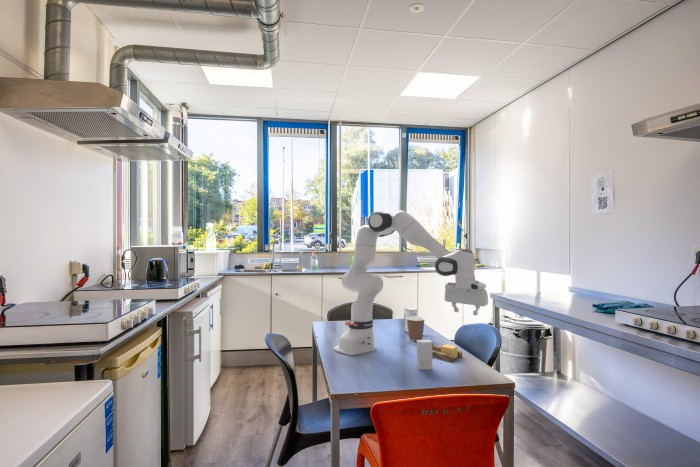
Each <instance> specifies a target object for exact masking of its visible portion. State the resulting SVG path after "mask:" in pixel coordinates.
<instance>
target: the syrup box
mask: <svg viewBox="0 0 700 467" xmlns="http://www.w3.org/2000/svg"><path fill="white" fill-rule="evenodd" d="M403 311H404V312H403V331H404V332H405V333H407V334H409V333H408V324H407V317H411V316H418V309H417V308H416V307H404V309H403Z"/></svg>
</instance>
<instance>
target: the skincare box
mask: <svg viewBox="0 0 700 467" xmlns="http://www.w3.org/2000/svg"><path fill="white" fill-rule="evenodd" d="M432 343H433V341H432V340H430V339H422V340H417V341H416V367H417V369H418V370H419V371H423V370H424V371H425V370H427V371H428V370H429V371H431V370H433V357H432Z"/></svg>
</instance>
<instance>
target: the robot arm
mask: <svg viewBox="0 0 700 467" xmlns="http://www.w3.org/2000/svg"><path fill="white" fill-rule="evenodd" d="M395 231H396V232H397V233H398V234H399V235H400V236H401V237H402V238H403V239H404V240H405V241H406V242H408V243H409V244H410V245H412V246H416V247H420V248H423V249H426V250H428V251H429V252H430V253H431V254H432V255H433V256H434V257H435V258H437V259H436V261H435V263H434V268H435V271H436V273H437V274H438V275H440V276H443V277H448V276H454V277H455V282H447V283H445V285H444V290H445V291H444V302H447V303H451V306H452V308H453V312H454V313H459V312H460V311H459V307H457V304H463V305H471V306H475V310H473V311H472V315H474V316H478V314H479V310H480V308H481V307H486V306H487V305H488V304H489V297H488V291H487V289H486V287H487V285H486V283H484V282H481V281H479V280H476V276H475V271H476V261H475V254H474V252H473V251H472V250H470V249H464V248H457V249H456V250H454V251H453V252H450V251H449V250H448V249H447V248H445V247H444V246H443V245H442V244H441V243H440V242H439V241H438V240H437V239H435V238H434V237H433V236H432V235H431V234H430V233H429V232H428V231H427V230H426V228H425V227H424V226H423V225H422V224H421V223H420V222H419V221H418V220H417V219H416V218H415V217H414V216H412V215H411V214H410V213H408V212H406V211H405V210H398V211H396V212H395V213H394V214H393V215H391V213H388V212H383V211H374V212H372V213H371V214H370V215H369V217H368V219H367V224H365V225H362V226H360V227H359V229H358V231H357V234H356V238H355V245H354V254H353V259H352V263H351V265H350V267H349V268H348V270H347V271H346V272H345V273H344V274H343V275H342V278H341V284H342V287H343V288H344V289H345V290H347V291H349V292H352V293H358V294H357V298H356V300H355V301H353V302H352V303H351V308H350V309H351V310H350V314H351V315H350V321H347V320H346V321H345V323H344V324H345V326H348V328H347V329H346V330H345V331H344V332H343V333H342V335H341V336H339V340H338V345H336V346H334V347H333V350H334V351H335V352H337V353H339V354H342V355H348V356H349V355H350V356H355V355H361V354H364V353H369V352H374V351H376V350H377V347H376V345H375V334H374V331H373V327H374V319H373V307H374V306H373V305H374V302H375V299H376V298H377V297H378V295H379V294H380V293H381V292H382V290H383V289H384V280H383V278H382V277H381V276H380V275H378V274H376V273H373V272H367V271H368V270H369V267H370V266H371V265H373V264H374V263H375V259H376V250H377V241H378V238H382V237H386V236H390V235H392V234H394V233H395Z"/></svg>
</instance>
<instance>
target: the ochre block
mask: <svg viewBox="0 0 700 467" xmlns="http://www.w3.org/2000/svg"><path fill="white" fill-rule="evenodd" d="M458 348H459V347H458V346H455V345H453V344H448V343H446V344H443V345H441V352H442V353H446V354H450V355H454V360H455V359H456V358H458V351H459V350H458Z"/></svg>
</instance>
